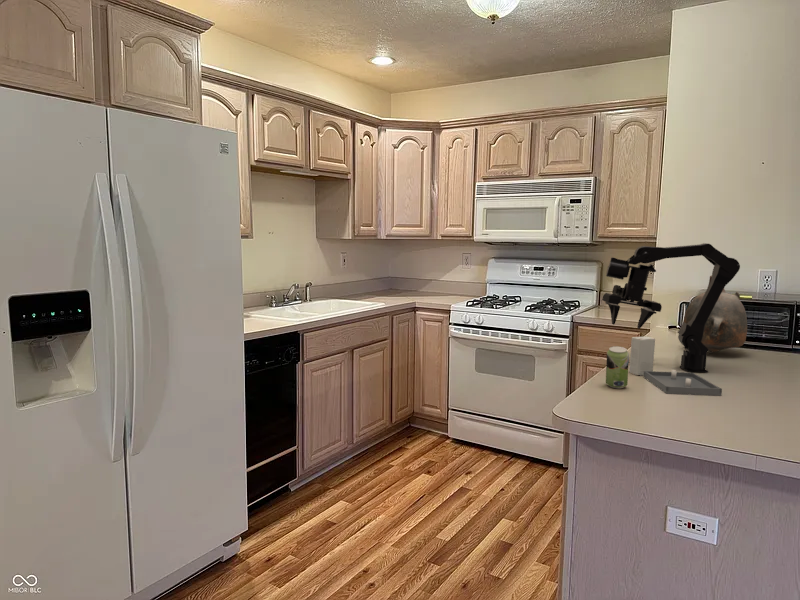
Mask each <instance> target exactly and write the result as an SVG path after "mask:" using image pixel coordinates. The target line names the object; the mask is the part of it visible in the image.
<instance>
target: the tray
mask: <svg viewBox="0 0 800 600" xmlns="http://www.w3.org/2000/svg"><path fill="white" fill-rule="evenodd" d="M644 377H645V378H644ZM643 378H644V379H646V380H647V379H648V380H649V381H648V380H647V381H648V382H649V383H651V382H652V383H653V385H654V384H655V385H656V386H655V385H654V386H655V387H657V388H658V389H659V388H660V390H661V391H662V392H663V391H664V392H663V393H664V394H667V395H688V394H691V395H692V396H715V397H717V396H719V397H721V396H722V395H723V393H722V392H723V388H721V387H720V386H717V385H716V384H714V383H712V382H710V381H709V380H707V379H705V378H703V377H701V376H700V375H698V374H697V373H695V372H688V371H686V372H685V371H683V372H682V371H677V369H671V371H657V370H656V371H644V375H643ZM652 383H651V384H652Z"/></svg>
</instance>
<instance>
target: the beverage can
mask: <svg viewBox="0 0 800 600" xmlns="http://www.w3.org/2000/svg"><path fill="white" fill-rule="evenodd" d="M605 364H606V367H605V383H606V385H608V387H610V388H613V389H623V388H625V387H626V386H627V385H628V380H629V365H630V353H629V351H628V349H627V348H625V347H623V346H610V347H609V348H608V350H607V352H606V363H605Z"/></svg>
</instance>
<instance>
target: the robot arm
mask: <svg viewBox="0 0 800 600" xmlns="http://www.w3.org/2000/svg"><path fill="white" fill-rule="evenodd" d="M697 256H698V257H699V256H702V257H703V258H704V259H706V260H707V261H708V262H709V263H711V265H713V269H712V273H711V276H712V278H711V282H710V284H709V283H708V285H709V286H707V289H706V291H704V293H705V294H704V296H703V298H702V300H701V302H700V304H699V306H698V308H697V310H696V312H695V314H694V316H693V318H692V319H691V320H690V321H689V322H688V323H687V324H686V323H685V322H683V321H682V323H681V325H680V326H681V327H680V329H679V330H678V331H677V333H678V335H677V339H678V341H679V343H680V344H681V345H682V346H683V348H684V350H683V352H682V355H681V357H680V358H681V360H680V365H679V367H680V368H681V369H682V370H684V371H686V372H687V373H709V370H708V369H706V365H707V356H708V355H707V354H708V353H709V352H708V348H707V347H706V346H705V345H704V344H703V343H702V342H701V341H702V338H703V334H704V327H705V324H706V322H707V320H708V318H709V316H710V314H711V312H712V310H713V308H714V306H715V304H716V302H717V301H718V299H719V297H720V295H721V293H722V291H723V289H725V287H726V286H727V285H728V284H729V283H730V282H732V280H733V279H734V277H735V276H736V275H737V274H738V272H739V271H740V269H741V265H740V262H739V261H738V259H735V258H734V257H730V256H727V255H725V254H724V253H722V252H721V251H720V250H718V249H717V248H715V247H714V246H713V244H710V243H705V242H703V243H700V244H691V245H689V244H688V245H680V246H676V245H675V246H668V247H667V246H666V247H661V246H646V245H641V246H638V247H637V248H636V249H635V250H634V252H633V255H632V256H631V257H629V258H628V259H627V260H626V259H618V258H616V257H613V256H611V257H610V261H609V262H608V265H607V268H606V273H605V277H608V278H612V279H618V280H622V281H623V280H624V279H625V278H628V280H627V283H626V282H625V284H624V287H621V285H619V284H618V285H617V284H614V285H613V287H612V291H611V292H612V293H610V292H609V293H608V292H605V293H604V294H603V295H602V299H601V301H603V302H605V304H606V305H607V306H608V308H609V310H610V311H609V312H610V319H611V324H612V325H615V324H616V322H617V318H618V315H619V312H620V308H621V306H620V305H619V304H624V305H631V306H637V307H640V316H639V320H638V322H637V329H638V330H640V329H641V328H642V327H643V326H644V325H645V323H647V321H648V320H649V319H650V318H651V317H652V316H653V315H654V314H655V315H656V314H657V312H659V313H661V312H662V308H663V307H662V304H661V303H660V302H657V301H655V300H648V299H643V297H644V293H645V291H646V292H647V290H648V289H647V288H648V287H646V285H647V282H648V278H649V273H650V272H652V273H656V272H657V270H656V269H655V267H654V266H653V264H649V263H654V262H657V261H661V260H666V259H675V258H686V257H697ZM640 263H641V264H640ZM638 264H639V265H638ZM645 264H649V265H645ZM634 265H637V266H634ZM630 268H631V269H630Z"/></svg>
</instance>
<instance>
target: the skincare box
mask: <svg viewBox="0 0 800 600" xmlns="http://www.w3.org/2000/svg"><path fill="white" fill-rule="evenodd" d="M630 343H631V344H630V354H629V367H628V373H630V374H631V373H633V374H632V375H634V374H635V375H634V376H637V375H640V376H644V371H653V370H654V361H655V358H654V357H655V356H654V355H655V347H656V338H654V337H651V336H632V337H631V342H630Z"/></svg>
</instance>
